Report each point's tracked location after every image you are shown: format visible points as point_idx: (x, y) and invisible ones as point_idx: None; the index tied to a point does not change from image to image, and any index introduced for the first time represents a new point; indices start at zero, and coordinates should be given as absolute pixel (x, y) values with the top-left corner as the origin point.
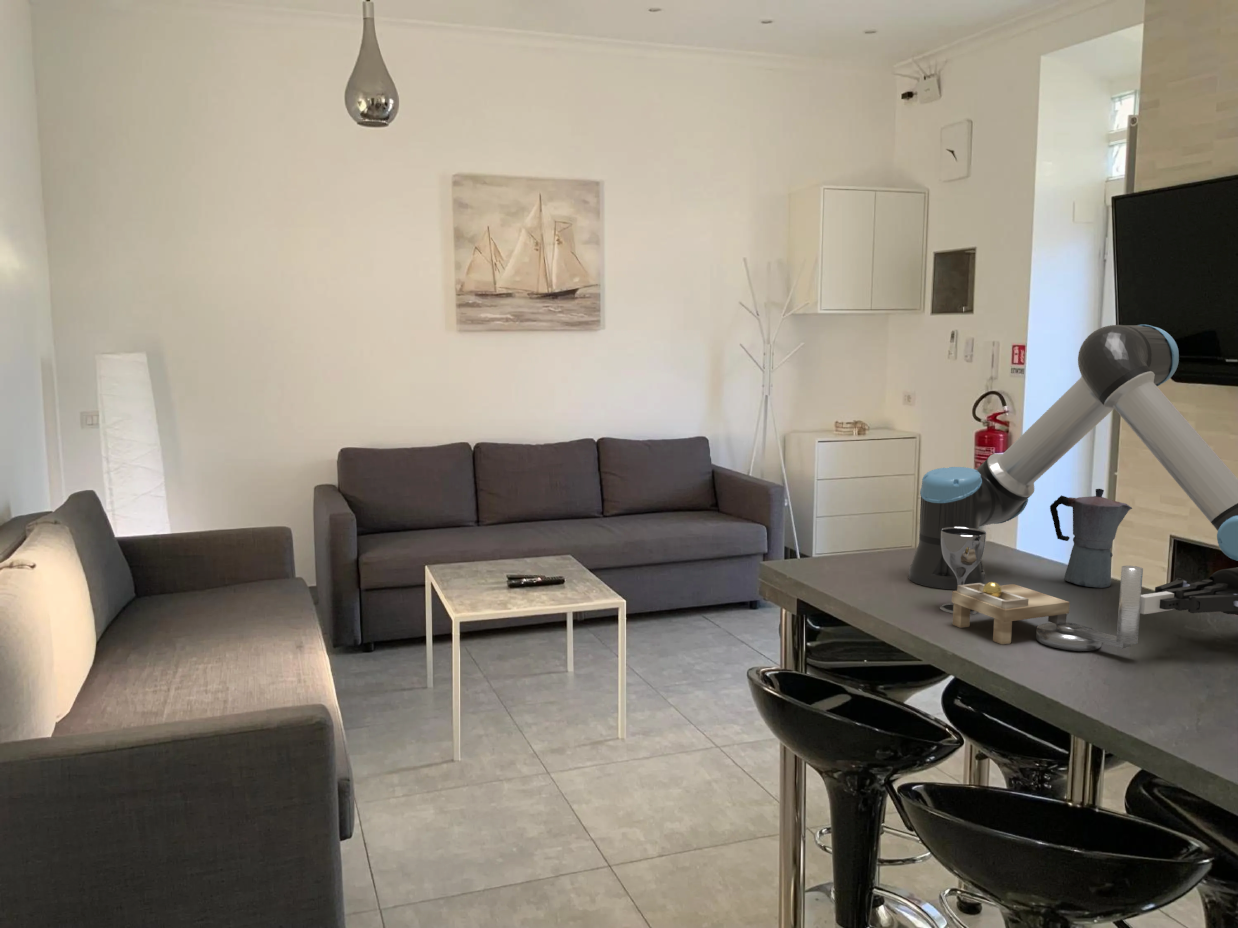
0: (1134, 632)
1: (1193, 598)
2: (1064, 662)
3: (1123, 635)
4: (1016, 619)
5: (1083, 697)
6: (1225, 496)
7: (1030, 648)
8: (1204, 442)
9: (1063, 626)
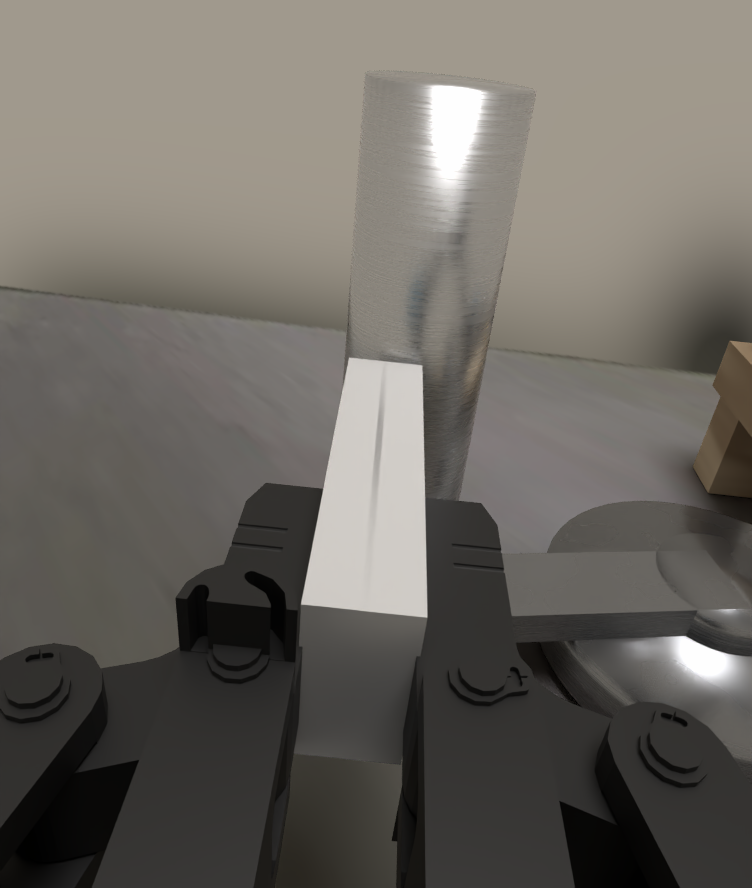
0: None
1: (23, 660)
2: None
3: None
4: (736, 411)
5: (212, 349)
6: None
7: (632, 498)
8: None
9: (713, 551)
